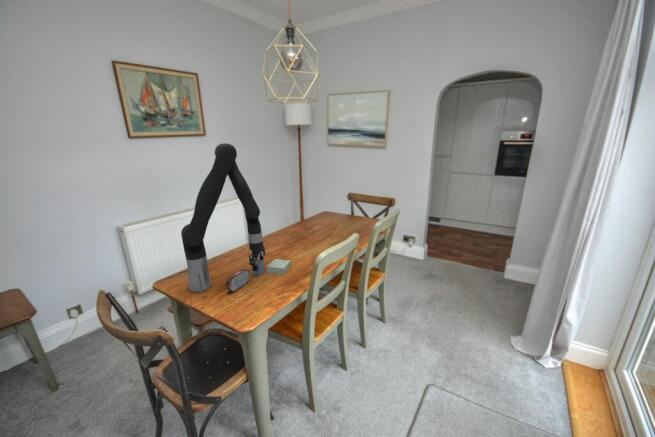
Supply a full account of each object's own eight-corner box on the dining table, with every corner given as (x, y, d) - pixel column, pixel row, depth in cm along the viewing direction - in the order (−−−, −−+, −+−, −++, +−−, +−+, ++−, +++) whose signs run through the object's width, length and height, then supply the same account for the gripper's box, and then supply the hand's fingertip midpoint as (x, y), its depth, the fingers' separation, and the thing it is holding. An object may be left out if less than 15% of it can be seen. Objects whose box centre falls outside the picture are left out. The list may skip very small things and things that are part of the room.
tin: (247, 279, 151) (245, 265, 148) (251, 280, 149) (250, 266, 147) (225, 293, 138) (223, 278, 135) (230, 295, 137) (228, 279, 134)
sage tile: (284, 274, 156) (283, 268, 154) (267, 273, 158) (267, 266, 157) (290, 266, 165) (290, 260, 164) (275, 265, 167) (274, 259, 166)
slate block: (260, 275, 155) (259, 263, 153) (252, 274, 156) (251, 263, 154) (264, 271, 160) (263, 259, 158) (256, 270, 161) (255, 259, 159)
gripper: (256, 245, 145) (259, 274, 150) (267, 235, 158) (270, 262, 163) (242, 245, 147) (246, 272, 151) (255, 235, 160) (258, 261, 165)
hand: (258, 267), depth 157 cm, fingers open, 8 cm apart
